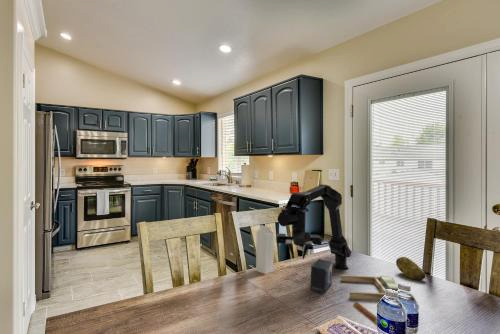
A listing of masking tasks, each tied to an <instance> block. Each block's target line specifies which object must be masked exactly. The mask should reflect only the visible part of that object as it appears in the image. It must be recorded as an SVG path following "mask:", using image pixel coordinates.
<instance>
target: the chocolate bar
mask: <svg viewBox="0 0 500 334" xmlns="http://www.w3.org/2000/svg"><path fill="white" fill-rule="evenodd" d="M352 306H353V307H354V308H355V309H356V310H357V311H359V312H360V313H361V314H362V315H364V316H365V317H366V318H367V319H368V320H370V321H372V323H373V324H378V323H377V318H378V317H377V316H376V315H375V314H374V313H372V312H371V311H369V310H368V309H367V308H365V307H364V306H363V305H362V304H360V302H358V301H356V300H354V303H353V305H352Z"/></svg>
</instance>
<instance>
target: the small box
mask: <svg viewBox="0 0 500 334" xmlns="http://www.w3.org/2000/svg"><path fill="white" fill-rule="evenodd" d="M332 275H333V261H330V260H325V259H321V258H319V259H317V260H316V261H315V262H314V263H312V265H311V266H310V285H309V286H310V288H309V289H310V291H313V292H316V293H319V294H322V295H323V294H324V295H325V294H326V292H327V291H328V290H329V289H330V287H331V286H332V280H333V279H332V277H333V276H332Z"/></svg>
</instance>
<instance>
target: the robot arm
mask: <svg viewBox="0 0 500 334" xmlns="http://www.w3.org/2000/svg"><path fill="white" fill-rule="evenodd" d="M319 197H321V199H322V200H323V204H324V206H325V208H326V209H327V210H328V215H329V222H330V230H331V238H330V240H328V246H329V250H330V254H332V255H334V262H332V266H333V268H334V269H337V270H338V269H340V270H349V267H348V265H347V263H348V261H347V260H348V259H347V258H351V256H352V250H351V249H350V248H349V246H348V241H347V240H346V238H345V237H344V235H343V230H342V229H343V227H342V221H341V220H342V219H341V214H340V213H341V212H340V208H341V206H342V204H343V201H342V199H343V196H342V194H341V193H340V192H339V191H337V190H336V189H334V188H332V187H331V186H330V185H328V184H323V183H322V184H319V185H317V186H315V187H313V188H311V189H309V190H306V191H300V192H299V191H297V192H293V193H292V194H291V195H290V197H289V199H288V201H287V203H286V205H285V207H284V208H282V209H281V212H279V214H278V216H277V222H278V224H279V225H280V226H281V227H288V226H291V236H290V235H286V233H277V234H276V244H285V246H288V248H289V250H290V254H291V257H292V259H293V260H294V259H295V254H294V247H293V245H295V246H297V245H298V246H303V247H302V248H303V249H302V260H304V259H305V258H306V254H307V252H308V249H309V248H310V247H312V246H313V245H314V246H322V244H323V243H322V240H323V239H322V238H321V236H320V235H319V234H311V232H307V231H306V226H307V225H306V222H307V221H306V218H307V217H306V216H307V215H306V213H308V212H309V208H308V206H310V204H311V202H312V201H314V200H316V199H318V198H319Z"/></svg>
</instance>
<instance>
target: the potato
mask: <svg viewBox="0 0 500 334" xmlns="http://www.w3.org/2000/svg"><path fill="white" fill-rule="evenodd" d="M395 264H396V267H397V269H398V270H399V271H400V272H401V273H402V274H403V275H404V276H405V277H406V278H409V279H411V280H414V281H422V280H424V279H426V273H425V271H424V270H423V269H422V268H421V267H420V266H419V265H418V264H417V263H416V262H415V261H413V260H412V259H410V258H409V257H406V256H400V257H398V258H397V259H396V262H395Z"/></svg>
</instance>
